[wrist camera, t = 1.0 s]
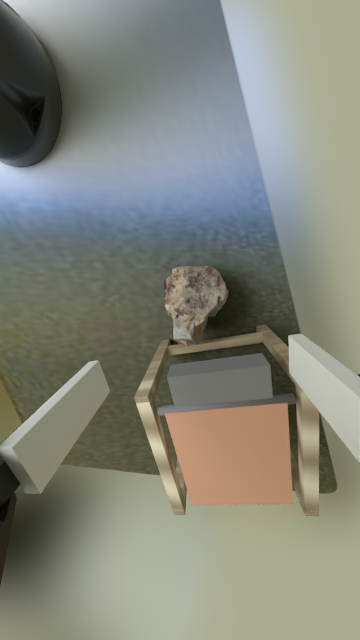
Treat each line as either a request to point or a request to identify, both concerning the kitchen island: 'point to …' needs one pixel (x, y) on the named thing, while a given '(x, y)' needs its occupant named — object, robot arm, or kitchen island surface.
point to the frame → (308, 448)
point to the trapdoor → (230, 431)
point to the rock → (193, 300)
